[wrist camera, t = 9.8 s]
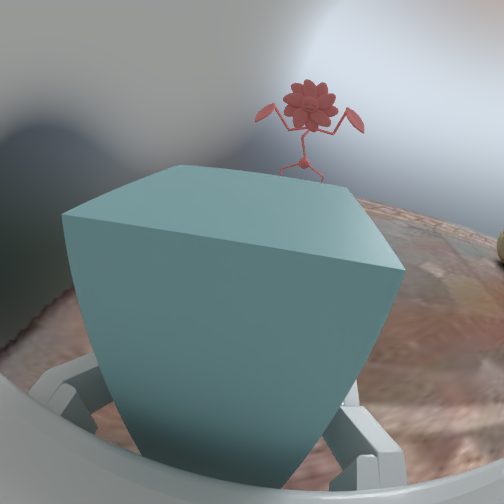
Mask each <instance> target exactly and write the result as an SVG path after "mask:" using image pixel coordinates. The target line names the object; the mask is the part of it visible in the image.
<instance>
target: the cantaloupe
mask: <svg viewBox="0 0 504 504" xmlns="http://www.w3.org/2000/svg"><path fill="white" fill-rule="evenodd" d="M497 252H498V256H499V257H500V259H501V261H502V263H503V264H504V229H503V231H502V232H501V233H500V235H499V238H498V241H497Z"/></svg>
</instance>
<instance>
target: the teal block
mask: <svg viewBox="0 0 504 504" xmlns="http://www.w3.org/2000/svg"><path fill="white" fill-rule="evenodd" d="M62 221H63V229H64V236H65V242H66V248H67V253H68V259H69V264H70V269H71V273H72V278H73V282H74V287H75V291H76V295H77V299H78V303H79V306H80V310H81V313H82V317H83V320H84V324H85V327H86V330H87V333H88V336H89V339H90V342H91V345H92V348H93V351H94V354H95V357H96V359H97V362H98V365H99V367H100V370H101V372H102V375H103V377H104V380H105V382H106V385H107V387H108V389H109V392H110V394H111V396H112V398H113V401H114V403H115V405H116V407H117V409H118V411H119V413H120V415H121V418H122V420H123V422H124V424H125V425H126V427H127V429H128V431H129V433H130V435H131V437H132V439H133V441H134V442H135V444H136V446H137V448H138V449H139V451H140V453H141V455H142V456H143V457H146V458H148V459H151V460H154V461H157V462H160V463H163V464H166V465H169V466H172V467H175V468H178V469H181V470H185V471H188V472H192V473H195V474H199V475H203V476H207V477H211V478H216V479H220V480H225V481H230V482H235V483H241V484H246V485H253V486H260V487H267V488H276V489H281V488H282V486H283V485H284V484H285V483H286V482H287V481H288V479H289V478H290V477H291V476H292V474H293V473H294V472H295V471H296V469H297V468H298V467H299V466H300V464H301V463H302V462H303V460H304V459H305V458H306V456H307V455H308V454H309V452H310V451H311V450H312V448H313V447H314V445H315V444H316V443H317V441H318V440H319V438H320V437H321V435H322V434H323V432H324V431H325V429H326V428H327V426H328V425H329V423H330V422H331V420H332V419H333V417H334V416H335V414H336V413H337V411H338V409H339V408H340V406H341V405H342V403H343V401H344V400H345V398H346V396H347V395H348V393H349V391H350V389H351V388H352V386H353V384H354V382H355V381H356V379H357V377H358V375H359V373H360V372H361V370H362V368H363V366H364V364H365V362H366V360H367V358H368V356H369V354H370V352H371V350H372V348H373V346H374V344H375V342H376V340H377V338H378V336H379V334H380V332H381V330H382V327H383V325H384V323H385V321H386V319H387V316H388V314H389V312H390V309H391V307H392V305H393V302H394V300H395V297H396V295H397V292H398V290H399V287H400V285H401V282H402V280H403V277H404V274H405V271H406V270H405V268H404V267H403V265H402V263H401V262H400V260H399V259H398V257H397V256H396V254H395V253H394V251H393V250H392V248H391V247H390V246H389V244H388V243H387V241H386V240H385V238H384V237H383V235H382V234H381V233H380V231H379V230H378V228H377V227H376V226H375V224H374V223H373V222H372V220H371V219H370V217H369V216H368V215H367V213H366V212H365V211H364V209H363V208H362V207H361V205H360V204H359V203H358V202H357V200H356V199H355V198H354V196H353V195H352V194H351V193H350V191H349V190H348V189H347V188H345V187H339V186H335V185H330V184H324V183H319V182H313V181H307V180H302V179H295V178H289V177H283V176H276V175H269V174H262V173H255V172H246V171H239V170H231V169H221V168H212V167H201V166H191V165H177V166H174V167H172V168H169V169H166V170H163V171H161V172H158V173H155V174H153V175H150V176H147V177H145V178H142V179H140V180H137V181H134V182H132V183H129V184H127V185H125V186H122V187H120V188H118V189H115V190H113V191H110V192H108V193H106V194H104V195H101V196H99V197H97V198H95V199H92V200H90V201H88V202H86V203H84V204H82V205H79V206H77V207H75V208H73V209H71V210H69V211H67V212H65V213H63V214H62Z"/></svg>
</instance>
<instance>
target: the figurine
mask: <svg viewBox="0 0 504 504" xmlns="http://www.w3.org/2000/svg"><path fill="white" fill-rule="evenodd" d="M291 89H292V91H293V93H290V94H288V95H286V96H285V97H284V98H283V101H284V102H285V103H287V104H288V105H287V106H286V108H285V110H284V115H285V116H288V117H290V116H293V124H294V126H295V128H292V129H289V128H288V126H287V124H286V123H285V121H284V119H283V117H282V116H281V114H280V113H279V111H278V109H277V108H276V106H275V103H273V104H270V105H268V106H266V107H264V108H263V109H262V110H260V111H259V112H258V114H257V115H256V118H255V122H257V121H259V120H261V119H263V118H265V117H266V116H268V115H269V114H271V112H272V111H273V110H274V108H275V110H276V112H277V113H278V115H279V117H280V118H281V120H282V122H283V123H284V125H285V126H286V128H287V129H288V131H293V130H301V129H308V130H307V131H306V132H305V133H304V134H303V135H302V138H301V140H302V146H303V154H304V158H301V159H300V160H299V163H298V164H294V165H290V166H287V167H283V168H281V170H280V176H281V174H282V169H285V168H288V167H292V166H296V165H299V166H300V167H301V168H303V169H305V168H308V167H310V168H311V169H312V170H314V171H315V172H316V173H318V174H319V175H320V176H322V180H321V183H322V182H323V179H324V178H323V175H321V174H320V173H319V172H317V171H316V170H315V169H313V168H312V167H311V166H309V164H310V162H309V160H308V159H307V158H306V157H305V146H304V137H305V135H306V134H307V133H308V132H309V131H312V132H316V131H321V132H324V133H327V134H331V135H333V133H334V134H335V132H336V131H337V129H338V127H339V126H340V124H341V122H342V121H343V119H344V117H345V116H346V115H347V118H348V120H349V121H350V123H351V124H352V125H353V126H354V127H355V128H356V129H358V130H359V131H360V132H362V133H364V124H363V122H362V120H361V118H360V117H359V116H358V115H357V114H356V113H355V112H354V111H353V110H351V109H349V108H346V111H345V113H344V115H343V116H342V118H341V120H340V121H339V123H338V125H337V127H336V128H335V130H334V132H333V133H331V132H328V131H324V130H321V129H318V125H320V126H325V127H328V126H330V124H331V120H330V119H329V118H328V117H332V116H335V115H336V114H337V113H338V109H337V108H336V107H334V106H332V105H333V103H334V102H335V98H336V97H335V95H334V94H328V88H327V85H326V83H320V84H319V85H317V86H316V85H315V84H314V83H313V82H312V81H311V80H305V81H304V85H302V84H299V83H294V84H292V85H291ZM304 124H305V126H306V127H302V126H303V125H304Z"/></svg>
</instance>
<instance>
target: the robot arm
mask: <svg viewBox="0 0 504 504" xmlns="http://www.w3.org/2000/svg"><path fill="white" fill-rule="evenodd" d="M112 401H113V398H112V396H111V394H110V392H109V389H108V387H107V385H106V382H105V380H104V377H103V375H102V372H101V370H100V367H99V365H98V362H97V359H96V357H95V354H94V352H92V353H89V354H87V355H84V356H82V357H79V358H77V359H74V360H72V361H69V362H67V363H64V364H62V365H59V366H56V367H54V368H51V369H49V370H46V371H45V372H44V374H43V375H42V376H41V377H40V378H39V380H38V381H37V382H36V383H35V385H34V386H33V387H32V388H31V390H30V391H29V392H28V393H25V392H24V391H23V390H21V389H20V388H19V387H18V386H16V385H15V384H14V383H12V382H11V381H10V380H9V379H7V378H6V377H5V376H4V375H3V374H1V373H0V504H504V457H503V458H501V459H498V460H496V461H493V462H491V463H488V464H486V465H483V466H480V467H477V468H474V469H471V470H468V471H465V472H461V473H458V474H454V475H451V476H447V477H443V478H439V479H435V480H430V481H426V482H421V483H416V484H410V485H408V484H407V475H406V467H405V459H404V452H403V451H402V449H401V448H400V447H399V446H398V445H397V444H396V443H395V441H394V440H393V439H392V438H391V437H390V436H389V435H388V434H387V432H386V431H385V430H384V429H383V428H382V427H381V426H380V424H379V423H378V422H377V421H376V420H375V419H374V418H373V416H372V415H371V414H370V413H369V412H368V411H367V410H366V408H365V407H363V406H360V404H359V396H358V388H357V381H355V382H354V384H353V386H352V388H351V389H350V391H349V393H348V395H347V396H346V398H345V400H344V401H343V403H342V405H341V406H340V408H339V409H338V411H337V413H336V414H335V416H334V417H333V419H332V420H331V422H330V423H329V425H328V426H327V428H326V429H325V431H324V432H323V434H322V436H323V438H324V440H325V441H326V443H327V445H328V446H329V448H330V450H331V451H332V453H333V455H334V456H335V458H336V460H337V461H338V463H339V465H340V466H341V468H342V470H343V471H342V472H341V473H340V474H339V475H338V476H337V477H336V478H334V479H333V480H332V481H331V482H330V483H329V491H301V490H287V489H276V488H267V487H260V486H253V485H246V484H241V483H235V482H230V481H225V480H220V479H216V478H211V477H207V476H203V475H199V474H195V473H192V472H188V471H185V470H181V469H178V468H175V467H172V466H169V465H166V464H163V463H160V462H157V461H154V460H151V459H148V458H146V457H143V456H141V455H138V454H136V453H133V452H131V451H128V450H126V449H124V448H121V447H119V446H117V445H115V444H112V443H110V442H108V441H106V440H104V439H102V438H100V437H98V436H96V435H94V434H95V432H96V430H97V429H98V427H97V424H96V422H95V421H94V419H93V418H92V416H91V414H92V413H94V412H96V411H97V410H99V409H101V408H102V407H104V406H106V405H107V404H109V403H111V402H112Z"/></svg>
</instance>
